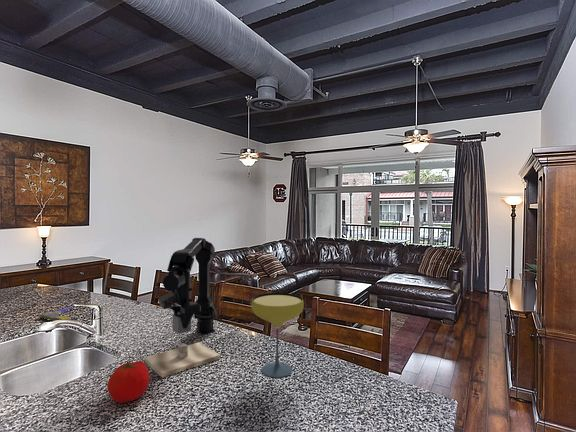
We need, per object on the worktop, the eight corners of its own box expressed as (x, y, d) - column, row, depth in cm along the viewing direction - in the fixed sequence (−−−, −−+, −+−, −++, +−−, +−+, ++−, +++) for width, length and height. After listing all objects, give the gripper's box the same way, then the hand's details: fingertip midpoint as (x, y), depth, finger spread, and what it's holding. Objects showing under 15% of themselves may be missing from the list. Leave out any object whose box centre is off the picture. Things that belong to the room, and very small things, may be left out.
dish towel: (104, 311, 188) (104, 306, 188) (58, 325, 166) (58, 319, 166) (82, 307, 196) (82, 302, 196) (36, 319, 173) (36, 314, 173)
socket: (184, 327, 134) (185, 308, 134) (190, 330, 131) (191, 311, 131) (172, 330, 131) (172, 311, 131) (178, 333, 127) (178, 314, 127)
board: (199, 345, 142) (199, 332, 142) (220, 358, 130) (220, 344, 130) (144, 361, 127) (144, 346, 127) (162, 377, 115) (162, 361, 115)
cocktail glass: (292, 387, 110) (293, 309, 109) (241, 377, 116) (242, 303, 115) (309, 363, 127) (310, 295, 126) (264, 355, 133) (264, 290, 132)
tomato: (159, 390, 108) (159, 357, 107) (128, 413, 96) (128, 376, 96) (130, 384, 111) (130, 352, 111) (97, 405, 99) (96, 370, 99)
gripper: (151, 284, 132) (150, 324, 133) (171, 292, 119) (171, 338, 119) (179, 280, 140) (178, 319, 140) (201, 288, 126) (201, 331, 126)
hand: (181, 326), depth 131 cm, fingers closed on socket, 5 cm apart
